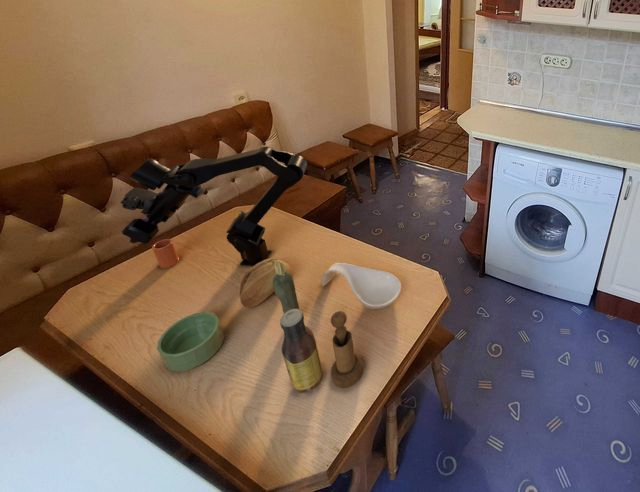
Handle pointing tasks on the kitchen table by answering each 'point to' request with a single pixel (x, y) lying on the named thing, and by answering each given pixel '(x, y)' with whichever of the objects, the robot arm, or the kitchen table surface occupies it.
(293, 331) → the sauce bottle
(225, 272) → the kitchen table surface
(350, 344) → the mortar and pestle
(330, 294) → the kitchen table surface
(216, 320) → the bowl
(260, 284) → the bread roll
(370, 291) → the spoon rest
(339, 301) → the kitchen table surface
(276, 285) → the vegetable
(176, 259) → the stand
